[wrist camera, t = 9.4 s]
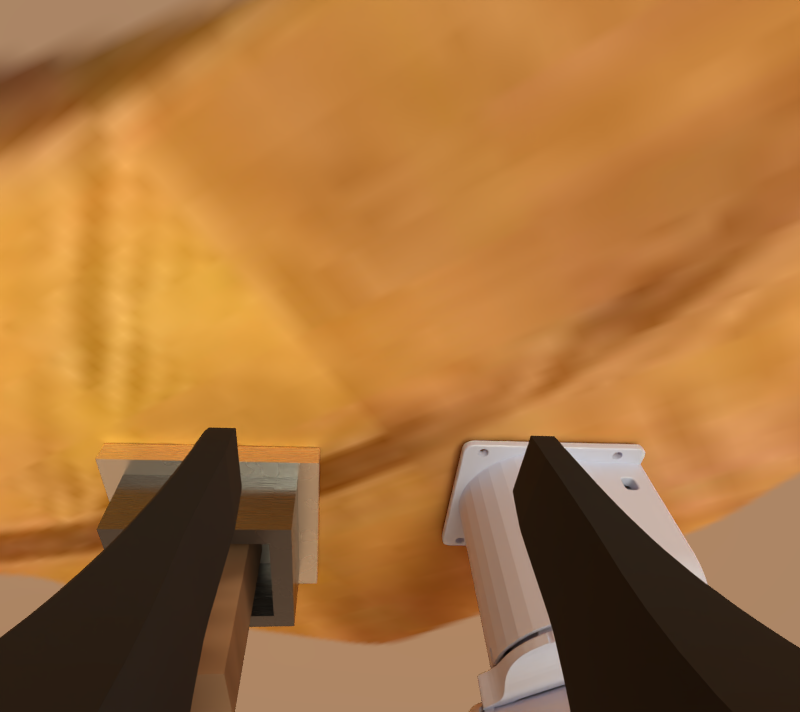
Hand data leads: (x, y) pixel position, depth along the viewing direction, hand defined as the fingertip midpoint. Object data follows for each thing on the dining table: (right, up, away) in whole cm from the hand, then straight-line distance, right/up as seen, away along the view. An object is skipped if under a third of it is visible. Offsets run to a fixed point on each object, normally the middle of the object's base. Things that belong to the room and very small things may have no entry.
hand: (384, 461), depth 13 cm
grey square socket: (-9, -6, +15) cm, 18 cm away
